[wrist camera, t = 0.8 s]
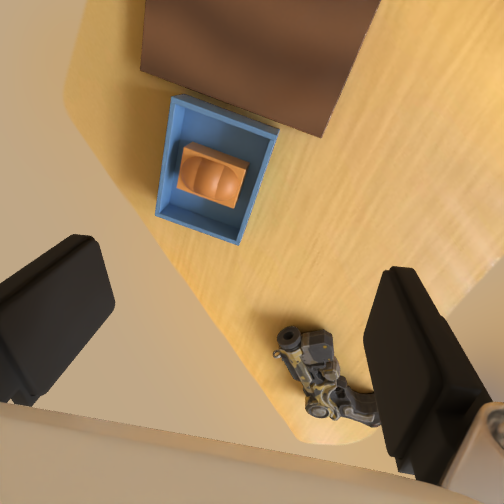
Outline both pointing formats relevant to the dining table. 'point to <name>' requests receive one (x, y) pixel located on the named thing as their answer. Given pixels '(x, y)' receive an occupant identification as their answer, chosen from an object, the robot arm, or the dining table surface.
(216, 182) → the bread
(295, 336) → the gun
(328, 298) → the dining table surface
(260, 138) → the bin
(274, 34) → the board
